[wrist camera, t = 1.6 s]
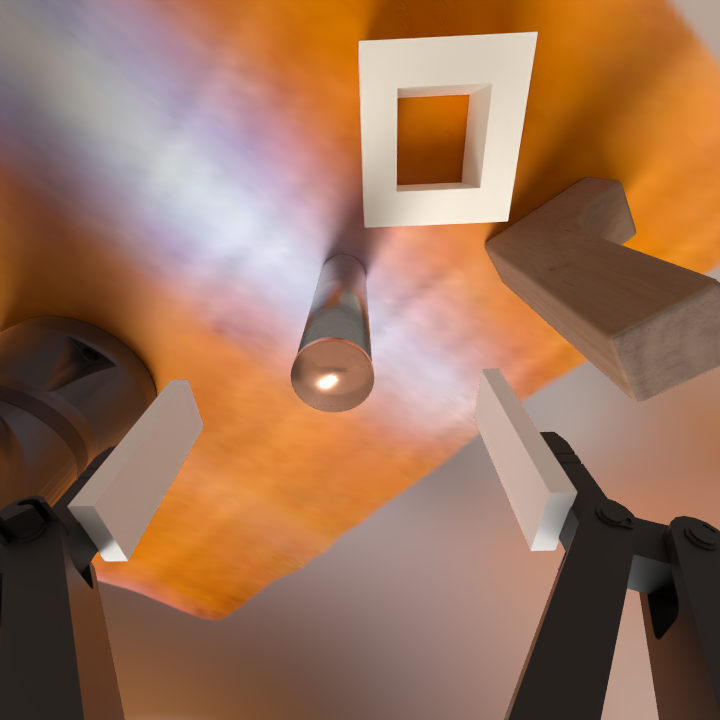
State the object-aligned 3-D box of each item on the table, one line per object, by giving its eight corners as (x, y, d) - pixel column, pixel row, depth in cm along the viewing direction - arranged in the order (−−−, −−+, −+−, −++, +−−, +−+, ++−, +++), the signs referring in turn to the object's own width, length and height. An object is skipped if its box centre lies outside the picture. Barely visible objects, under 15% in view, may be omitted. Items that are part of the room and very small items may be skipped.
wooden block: (586, 174, 28) (869, 205, 13) (603, 223, 30) (869, 303, 14) (481, 243, 31) (609, 339, 15) (503, 284, 33) (637, 407, 17)
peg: (322, 299, 33) (296, 413, 19) (318, 254, 31) (285, 344, 17) (366, 297, 33) (374, 410, 19) (365, 252, 31) (373, 341, 17)
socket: (363, 216, 30) (364, 227, 25) (358, 60, 24) (358, 41, 20) (485, 210, 29) (507, 221, 25) (505, 52, 24) (537, 31, 20)
